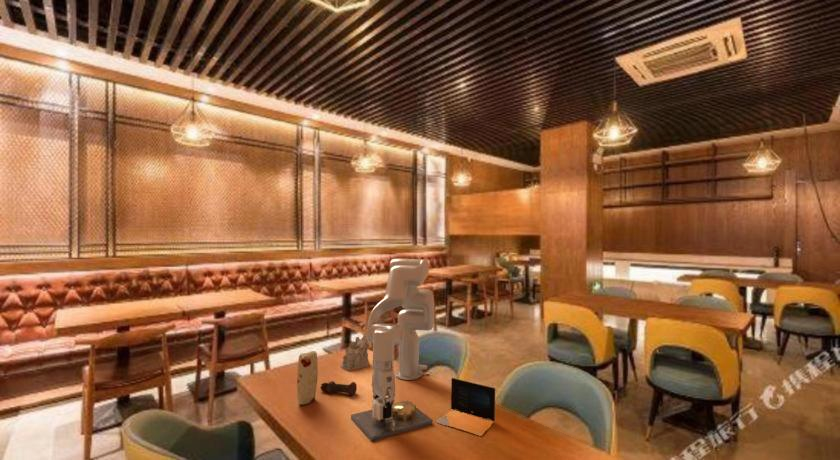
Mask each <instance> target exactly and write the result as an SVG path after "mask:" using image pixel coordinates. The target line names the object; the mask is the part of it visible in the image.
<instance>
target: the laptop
mask: <svg viewBox="0 0 840 460" xmlns="http://www.w3.org/2000/svg"><path fill="white" fill-rule="evenodd" d="M450 386H451V388H450V389H451V393H450V396H451V397H450V398H451V399H450V401H451V402H450V407H451V408H450V410H451V409H453V410H456V411H460V412H462V413H463V412H464V413H467V414H469V415H470V414H471V415H474V416H476V417H477V416H478V417H482V418H483V419H484V418H485V419H488V420H492V421H494V422H495V421H496V388H495V387H493V386H489V385H483V384H478V383H476V382H471V381H468V380H463V379H459V378H455V377H451V385H450ZM445 415H446V413H444V414H443V415H442V416H441V417H440V418H439V419H438V420H436V421H435V423H436V424H439V425H441V424H442V426H445V425H447V426H446V427H448V426H450V425H449V424H450V423H448V422H449V421H448V419H446V418H447V416H445ZM444 416H445V417H444ZM443 417H444V418H443ZM446 421H447V422H446ZM449 428H451V426H450V427H449ZM477 434H478V435H479V433H477ZM477 434H476V435H477ZM476 435H475V436H476ZM480 436H482V435H479V436H478V437H480ZM482 437H483V436H482Z"/></svg>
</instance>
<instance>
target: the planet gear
mask: <svg viewBox="0 0 840 460" xmlns="http://www.w3.org/2000/svg"><path fill="white" fill-rule="evenodd" d="M385 398H387V396H385ZM374 399H375V398H373V399H372V401H371V402H372V409H371V410H372V417H373V418H377V420H380V419H383V407H384V403H383V399H381V398H380V397H378V398H377V399H375V400H374ZM388 401H389V399H387V400H386V403H387V402H388ZM387 419H388V418H387ZM385 420H386V419H385Z"/></svg>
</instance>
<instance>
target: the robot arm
mask: <svg viewBox="0 0 840 460" xmlns="http://www.w3.org/2000/svg"><path fill="white" fill-rule="evenodd" d="M389 269H390V270H389V273H388V278H387V284H386V289H385V295H384V297H383V298H382V299H381V300H380V301H379V302H378V303H377V304H376V305H375V306H374V307H373V308H372V310H371V312H370V314H369V317H368V320H367V326H366V333H365V338H366V340H367V341H368V342H369V343H371V344H372V377H371V379H372V381H371V388H372V389H371V390H372V393H373V395H372V398H373V399H374V400H375V399H377V398H378V397H380V398H381V399H383V403H384V407H383V419H387V418H390V417H391V416H392V405H393V403H395V402H396V401H395V397H396V381H395V377H396V378H397V379H399V380H405V381H413V380H414V381H415V380H419V379H420V378H421V377H422V376H423V375H422V371H423V370H427V369H428V365H426V364H423V365H422V364H419V362H420V359H419V357H420V356H419V355H420V337H419V335H418V333H417V331H426V332H427V331H431V330H433V328H434V327H435V299H434V293H433V292H432V290H431V289H427V288H418V287H420V286H422V285H423V284H424V282H425V280H426V279H427V277H428V275H429V272H430V266H429V263H428V261H427V260H426V259H424V258H422V259H421V258H404V257H403V258H399V257H398V258H393V259H391V260H390V262H389ZM400 307H402V308H403V309H402V310H400V311H399V313H398V314H397V324H396V323H386V322H385V323H384V322H378V321H379V319H380V317H381V316H382V315H384V314H385V313H387V312H389V311H391V310H393V309H397V308H400ZM395 346H398V370H396V371H394V361H395V360H394V359H395V358H394V355H395ZM387 396H388V397H387ZM385 397H387V398H385ZM387 399H389V401H388V402H387V403H386V400H387Z"/></svg>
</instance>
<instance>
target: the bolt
mask: <svg viewBox="0 0 840 460" xmlns="http://www.w3.org/2000/svg"><path fill="white" fill-rule="evenodd" d="M320 390H321V391H324V392H327V394H333V393H343V394H344V393H346V394H348V395H349V397H354V396H355V395H356V393H357V390H358V389H357V383H356V382H355V381H352V382H350V384H343V383H342V384H341V383H336V382H335V381H333V380H331V381H329V382H322V383H321V384H320Z"/></svg>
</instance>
